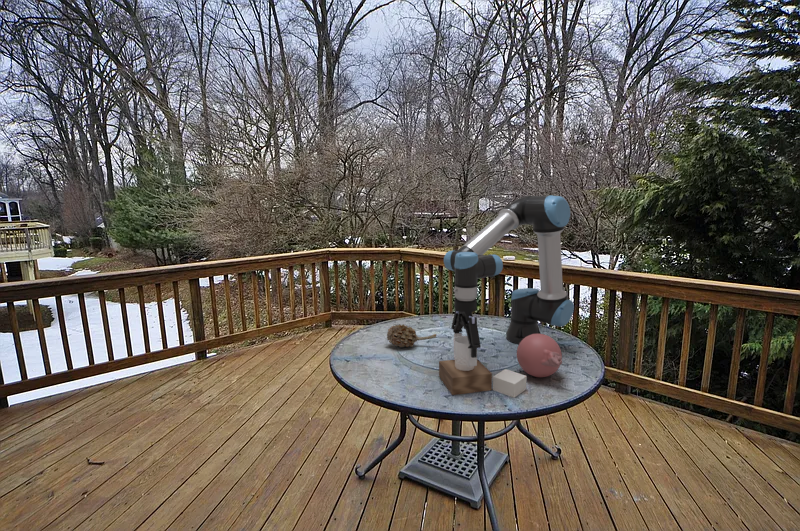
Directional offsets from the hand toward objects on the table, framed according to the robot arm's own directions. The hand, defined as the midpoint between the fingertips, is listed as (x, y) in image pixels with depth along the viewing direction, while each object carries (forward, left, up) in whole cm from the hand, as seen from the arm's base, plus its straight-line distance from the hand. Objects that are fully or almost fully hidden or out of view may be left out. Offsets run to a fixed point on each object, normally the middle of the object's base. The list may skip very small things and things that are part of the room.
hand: (464, 357), depth 140 cm
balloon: (-28, +3, -10) cm, 30 cm away
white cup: (0, 0, -4) cm, 4 cm away
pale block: (-13, +8, -10) cm, 18 cm away
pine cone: (+9, -38, -10) cm, 40 cm away
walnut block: (0, 0, -9) cm, 9 cm away
